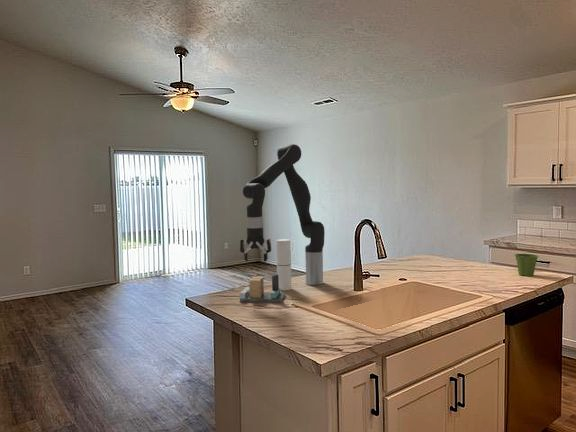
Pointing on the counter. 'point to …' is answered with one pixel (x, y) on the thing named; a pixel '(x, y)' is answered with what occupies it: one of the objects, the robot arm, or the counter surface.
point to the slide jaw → (275, 286)
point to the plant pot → (526, 264)
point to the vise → (264, 298)
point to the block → (256, 287)
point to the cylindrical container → (284, 263)
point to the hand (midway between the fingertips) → (256, 261)
